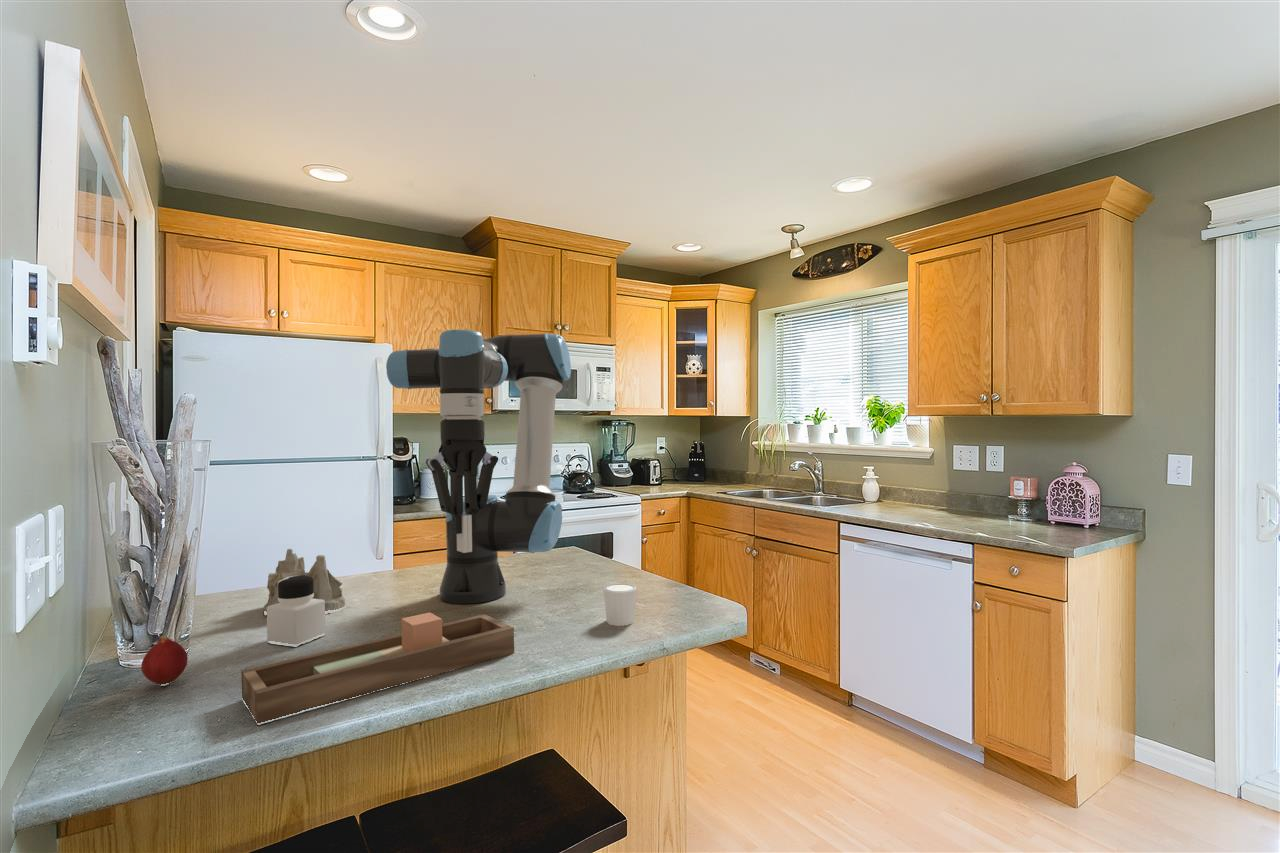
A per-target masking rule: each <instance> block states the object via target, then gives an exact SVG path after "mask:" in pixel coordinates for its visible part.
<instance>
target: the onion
mask: <svg viewBox="0 0 1280 853" xmlns="http://www.w3.org/2000/svg"><path fill="white" fill-rule="evenodd" d="M157 640H158V642H157V643H156V644H154V645H153V646H152V647H151V648H149V650H147V653H146V654H145V655H144V657H143V659H142V661H141V671H142V675H143V677H145V679H147V680H148V681H150V682H152V683H154V684H157V685H158V684H160V685H161V684H166V683H170V682H172V681H173V682H174V681H176V680H177V679H178V678H179V677H180V676H181V675H182V674H183V672H184V671H185V669H186V668H187V665H188V660H189V659H188V654H187V651H186V650H185V648H184V647H183V646H182V645H181V644H180V643H178V642H177V641H175V640H172V639H170V638H169V637H167V636H160V637H159V638H157ZM173 682H172V683H173ZM160 685H159V686H160Z"/></svg>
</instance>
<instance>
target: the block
mask: <svg viewBox="0 0 1280 853" xmlns="http://www.w3.org/2000/svg"><path fill="white" fill-rule="evenodd" d="M400 621H401V622H400V623H401V633H402V648H403V649H404V650H406V651H407V652H408V651H412V650H416V649H420V648H424V647H427V646H431V645H435V644H439V643H442V624H443V618H441V617H439V616H438V615H435V614H433V613H432V612H426V613H421V614H416V615H412V616H406V617H403V618H401V620H400Z"/></svg>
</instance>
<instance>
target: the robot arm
mask: <svg viewBox="0 0 1280 853" xmlns="http://www.w3.org/2000/svg"><path fill="white" fill-rule="evenodd" d="M568 348H569V347H568V343H567V342H566V340H565V339H564V337H563V336H562V335H561V334H558V333H556V334H554V333H546V332H544V333H536V334H534V333H533V334H531V333H530V334H504V335H497V336H493V337H487V338H484V337H483V334H482V333H481V332H480V331H477V330H472V329H448V330H444V331H442V332H441V333H440V336H439V346H438V347H436V348H435V347H433V348H425V349H424V348H423V349H401V350H395V351H392V352H391V353H390V354H389V355H388V357H387V359H386V364H385V366H386V367H385V369H386V377H387V379H388V382H389V384H391V386H393V388H396V389H405V390H406V389H408V390H413V389H415V390H416V389H439V415H440V416H441V417H443V419H442V420H441V421H440V425H439V426H440V430H439V431H440V443H441V444H440V447H439V449H438V453H437V454H436V455H434V456H433V457H432V458H427V459H426V461H425V464H426V466H427V467H428V469H429V470H430V472H431V474H432V475H431V476H432V478H433V482H434V487H435V491H436V494H437V500H438V504H439V506H440V510H441V512H443V513H446V516H445V517H446V518H445V521H444V522H445V532H446V535H445V536H446V567H445V570H444V573H443V576H442V579H441V583H440V587H439V599H440V600H441V601H443V602H445V603H449V604H460V605H465V604H468V605H469V604H480V603H485V602H490V601H494V600H497V599H500V598H502V597H503V596H504V595H506V593H507V592H506V591H507V590H506V582H505V581H506V580H505V579H504V575H503V572H502V570H501V567H500V563H499V561H498V560H499V559H498V556H499V555H498V553H499V552H500V553H501V552H502V553H506V552H507V553H508V552H510V553H531V554H534V553H544V552H545V553H546V552H549V551H551V550H552V549H553V548H555V546H556V544H557V542H558V540H559V537H560V533H561V528H562V524H563V507H562V504H561V503H560V502H558V501H556V494H555V493H554V492H553V491H552V490H551V486H550V485H551V484H550V483H551V472H552V471H551V470H552V454H553V444H554V443H553V440H554V427H555V426H554V425H555V414H556V413H555V410H556V396H557V394H558V393H559V392H560V391H562V389H563V385H564V384H563V382H566V381H568V380H570V379H571V374H572V365H571V358H570V352H569V349H568ZM505 381H506V382H515V386H516V388H517V389H518V390H519V391H520V398H519V400H520V401H519V409H518V410H519V412H518V423H517V433H516V434H517V436H516V447H515V448H516V450H515V458H514V459H515V460H514V461H515V462H514V471H513V472H514V473H513V484H512V486H511V487H510V488H509V490H507V491H506V492H505V500H504V501H498V500H499V499H498V497H497V495H496V494H490V489H491V483H492V479H493V472H494V469H495V467H496V465H497V463H498V461H499V457H498V456H497V455H492V454H491V453H489V451H487V447H486V445H485V442H484V441H485V436H486V435H485V421H484V419H481V417H483V416H484V415H485V396H484V394H485V391H484V390H485V389H489V390H490V389H492V388H497V387H500V385H502V384H503V383H504V382H505ZM481 463H482V465H481V467H480V472H479V475H478V470H479V469H478V467H479V465H480V464H481ZM444 464H445V465H446V466H447V468H448V475H449V477H450V479H449V480H450V481H449V482H450V483H449V484H450V487H449V485H448V482H447V477H446V473H445V470H444V468H443V467H444ZM477 476H478V481H477ZM477 482H478V483H477ZM449 488H450V490H449Z"/></svg>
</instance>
